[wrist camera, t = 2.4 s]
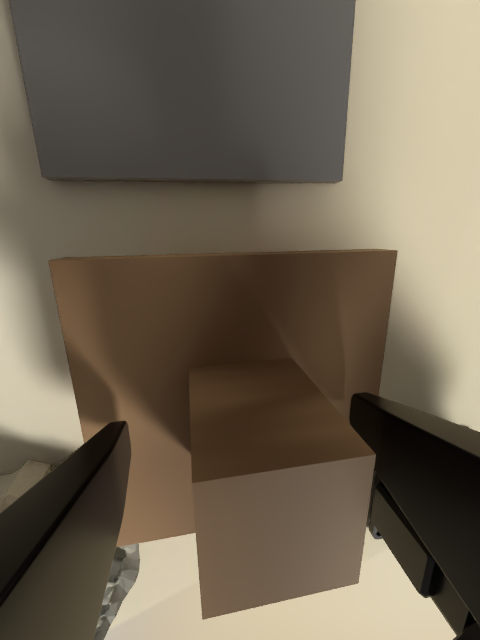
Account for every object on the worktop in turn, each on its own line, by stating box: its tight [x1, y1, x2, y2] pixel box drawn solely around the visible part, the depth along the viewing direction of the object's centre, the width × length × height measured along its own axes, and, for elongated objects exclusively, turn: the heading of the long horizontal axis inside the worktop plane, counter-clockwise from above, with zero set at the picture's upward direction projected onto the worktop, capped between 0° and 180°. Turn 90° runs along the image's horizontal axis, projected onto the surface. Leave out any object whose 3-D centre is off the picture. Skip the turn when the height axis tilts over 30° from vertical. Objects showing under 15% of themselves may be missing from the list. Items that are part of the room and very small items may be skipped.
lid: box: [49, 249, 397, 619], centre depth 7 cm, size 9×9×5 cm
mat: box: [9, 0, 356, 183], centre depth 10 cm, size 11×10×1 cm
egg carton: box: [0, 460, 140, 640], centre depth 13 cm, size 11×8×4 cm
